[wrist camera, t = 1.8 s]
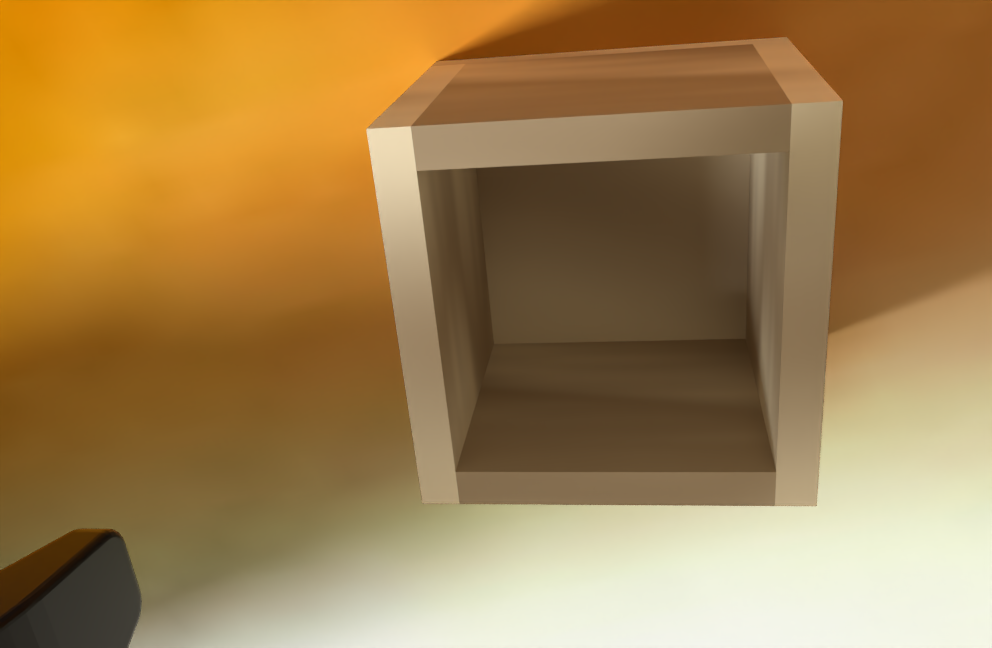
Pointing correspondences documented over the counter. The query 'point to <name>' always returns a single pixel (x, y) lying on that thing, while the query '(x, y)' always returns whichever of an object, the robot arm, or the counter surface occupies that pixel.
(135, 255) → the counter surface
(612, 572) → the counter surface
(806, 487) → the small crate
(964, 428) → the counter surface
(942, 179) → the counter surface
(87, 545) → the robot arm
